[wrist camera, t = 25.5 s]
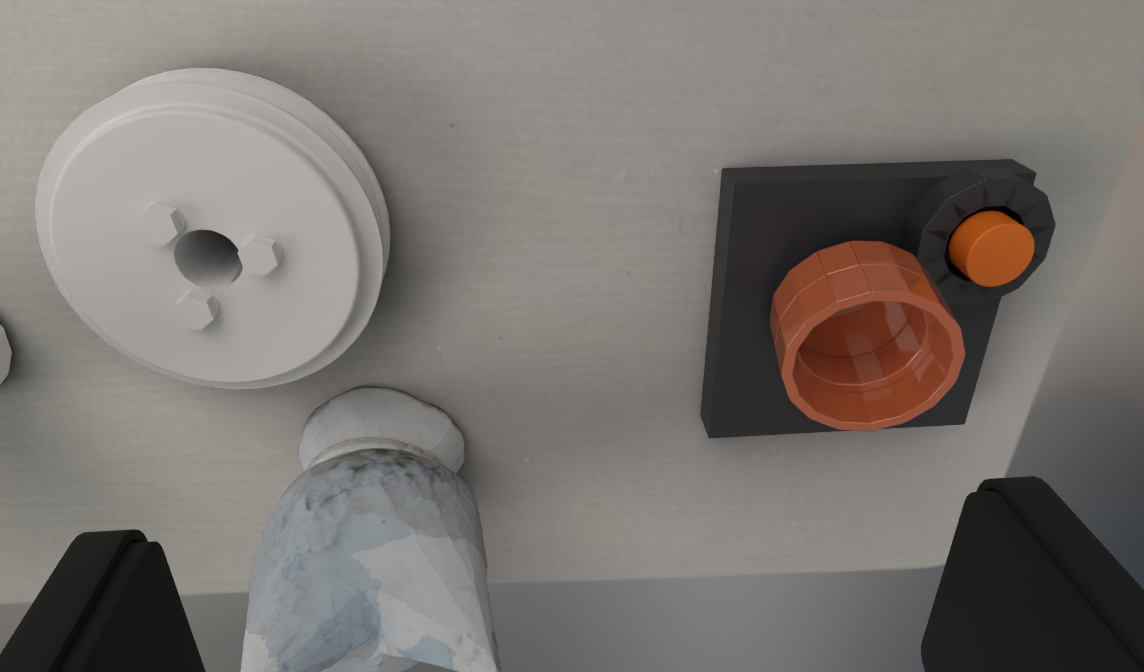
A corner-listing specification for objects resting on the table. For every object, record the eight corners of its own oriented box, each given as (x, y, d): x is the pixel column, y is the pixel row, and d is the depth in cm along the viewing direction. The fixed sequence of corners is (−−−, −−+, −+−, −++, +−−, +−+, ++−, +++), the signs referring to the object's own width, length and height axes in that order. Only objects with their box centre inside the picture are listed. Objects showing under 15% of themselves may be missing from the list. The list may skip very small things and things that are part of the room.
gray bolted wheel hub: (454, 235, 35) (448, 286, 31) (254, 394, 38) (223, 460, 34) (222, -10, 30) (174, 9, 25) (11, 199, 33) (-63, 247, 29)
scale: (722, 160, 35) (744, 187, 32) (1022, 150, 35) (1071, 176, 32) (700, 416, 41) (716, 459, 38) (953, 403, 42) (988, 443, 39)
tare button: (956, 210, 33) (975, 224, 32) (1021, 208, 33) (1043, 222, 32) (941, 272, 35) (959, 289, 33) (1004, 270, 35) (1024, 286, 33)
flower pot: (780, 232, 34) (796, 288, 30) (949, 236, 33) (986, 295, 30) (759, 363, 38) (771, 427, 34) (910, 368, 37) (939, 434, 34)
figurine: (283, 506, 42) (187, 789, 29) (309, 361, 38) (212, 614, 25) (469, 538, 44) (457, 815, 31) (512, 403, 40) (521, 657, 27)
